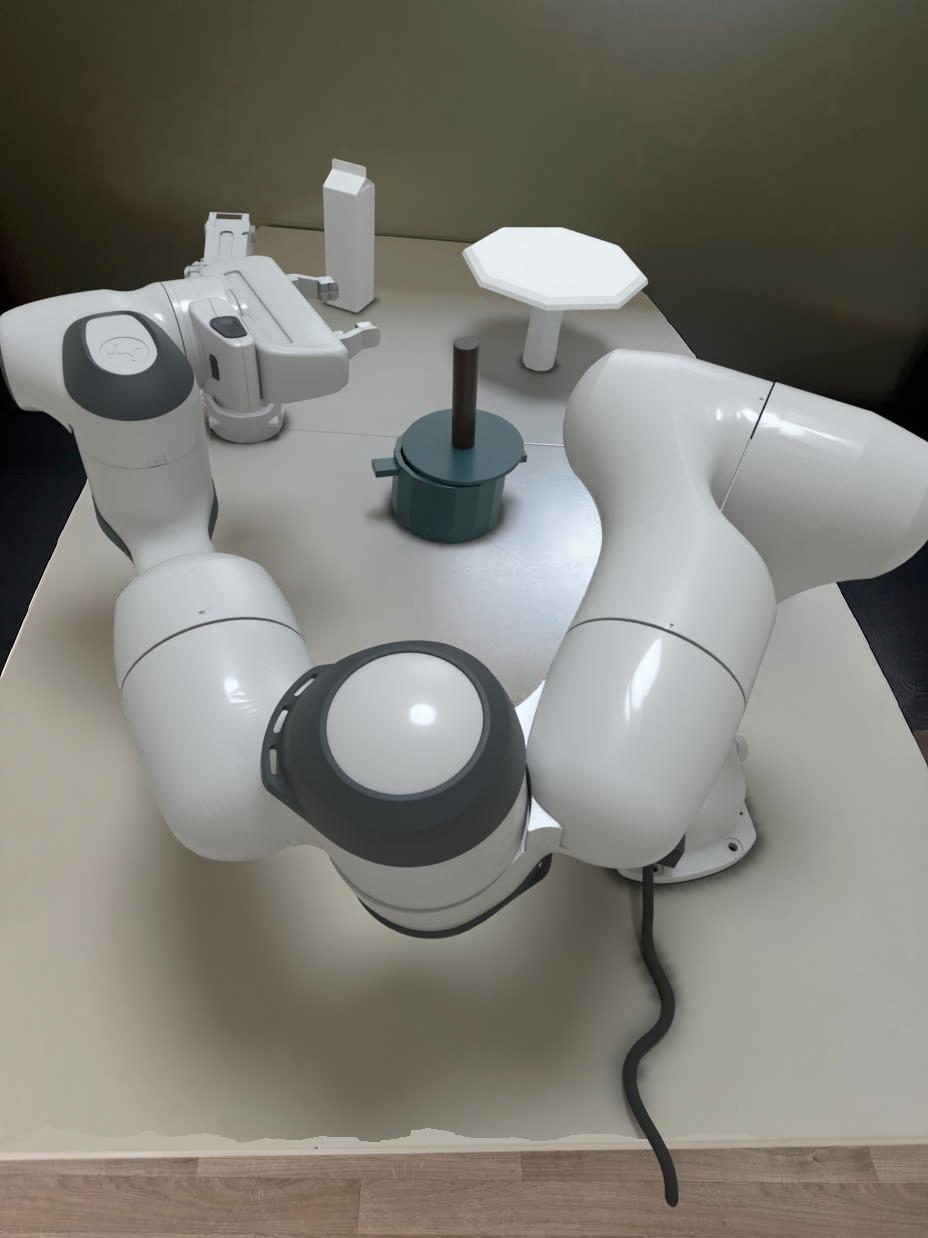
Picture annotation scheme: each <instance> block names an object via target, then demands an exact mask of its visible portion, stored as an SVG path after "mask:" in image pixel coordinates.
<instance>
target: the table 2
mask: <svg viewBox="0 0 928 1238" xmlns="http://www.w3.org/2000/svg"><path fill="white" fill-rule="evenodd" d="M461 255H462V257H463V259H464V261H465V263H466V265H467V266H468V268H469V270H470V272H471V273H472V275H473V278H474V280H475V281H476V282H477V285H478V287H480V288H482V289H486V290H489V291H491V292H493V293H497V294H499V295H502V296H504V297H505V296H506V297H507V298H510V299H513V300H516V301H519V302H521V303H524V304H527V305H530V311H529V323H528V328H527V332H526V338H525V344H524V350H523V356H522V362H523V364H524V366H525V367H526V368H528V369H529V370H530V369H531V370H532V371H535V372H545V371H549V370H551V369H552V368H553V367H554V365H555V360H556V355H557V349H558V343H559V336H560V330H561V325H562V322H563V318H564V314H565V311H583V310H587V311H591V310H620V309H621V308H622V307H623V306H625V305H626V304H627V303H628V302H629V301H630V300H631V299H633V298H634V297H635V296H636V295H637V294H638V293H640V292H641V290H643V289H644V288H645V287H646V286H647V285H648V284H649V281H648V280H649V279H648V278H647V277H646V275H645V274H644V273H643V272H642V271H641V270H640V268H639V267H638V266H637V265H636V264H635V262H633V260H632V259H631V258H630V257H629V256H628V255H627V253H626V252H625V251H624V250H623V249H622V248H621V246H619V245H617V244H614V243H612V242H608V241H605V240H602V239H599V238H596V237H594V236H593V237H592V236H590V235H587V234H584V233H580V232H577V231H574V230H571V229H568V228H565V227H531V226H530V227H527V226H526V227H524V226H523V227H520V226H519V227H513V226H511V227H510V226H508V227H501V228H499V229H498V230H497V229H496V230H495V231H493V232H491V233H490V234H488V235H487V236H485V237H483V238H482V239H480V240H478V241H476V242H474V243H473V244H471V245H469V246H468V247H466V248H464V249H463V251H462V252H461Z"/></svg>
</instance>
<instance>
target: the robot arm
mask: <svg viewBox="0 0 928 1238" xmlns="http://www.w3.org/2000/svg"><path fill="white" fill-rule="evenodd" d="M338 289H339V286H338V284H337V283H336V282H335V280H334V279H333V278H332V277H331V276H326V275H325V276H317V277H315V276H311V275H305V274H299V273H288V274H286V273H285V272H284V271H283V270H282V269H281V267H280V266H279V265H278V264H277V262H275V260H274V259H273V258H272V257H270V256H266V255H257V254H256V255H254V254H253V256H247V257H242V258H236V259H231V260H226V261H221V262H217V263H213V264H210V265H207V266H205V267H203V268H202V269H201V270H200V273H199V275H193V276H190V277H188V279H185V278H179V279H173V280H172V279H171V280H165V281H156V282H152V283H149V284H147V285H145V286H143V287H141V288H137V289H135V290H128V291H126V290H125V291H121V290H114V289H113V290H112V289H106V288H103V289H94V290H87V291H80V292H73V293H68V294H62V295H57V296H53V297H48V298H44V299H43V298H42V299H40V300H36V301H35V300H34V301H32V302H29V303H25V304H23V305H19V306H17V307H14V308H12V309H9V310H7V311H5V312H3V313H2V314H1V315H0V368H1V369H0V370H1V372H2V376H3V380H4V382H5V385H6V387H7V390H8V392H9V394H10V396H11V398H12V400H13V401H14V402H15V403H16V405H17V406H18V407H19V408H20V409H21V410H24V411H29V412H43V413H46V414H48V415H49V416H51V417H52V418H53V419H55V420H56V421H58V422H59V423H60V424H61V425H62V426H64V428H65V429H66V430H67V431H68V432H69V433H70V434H72V433H73V434H74V435H73V436H74V438H75V442H76V445H77V448H78V451H79V455H80V458H81V461H82V465H83V468H84V471H85V475H86V478H87V481H88V485H89V488H90V491H91V498H92V504H93V508H94V512H95V517H96V521H97V523H98V526H99V528H100V529H101V531H102V532H103V534H104V535H105V536H106V537H107V538H108V539H109V541H111V542H112V543H113V544H114V545H115V546H116V547H117V548H118V549H119V550H120V551H121V552H122V553H123V554H124V555H125V556H126V557H127V558H128V559H129V560H130V562H131V563H132V564H133V568H134V571H135V575H136V577H135V578H134V579H133V580H132V581H131V582H129V584H127V586H126V587H125V588H124V589H123V591H122V592H121V593H120V595H118V596H117V600H116V601H115V603H114V613H113V657H114V667H115V673H116V681H117V685H118V690H119V696H120V700H121V703H122V708H123V712H124V716H125V719H126V724H127V728H128V731H129V734H130V737H131V741H132V744H133V747H134V750H135V753H136V755H137V757H138V760H139V763H140V767H141V768H142V771H143V774H144V776H145V779H146V781H147V783H148V786H149V788H150V790H151V793H152V795H153V796H154V797H153V798H154V799H155V801H156V804H157V806H158V808H159V810H160V811H161V813H162V816H163V818H164V820H165V821H166V824H167V825H168V827H169V829H170V831H171V833H172V834H173V836H174V837H175V838H176V840H178V841H179V842H180V843H181V844H182V845H183V847H185V848H186V849H188V850H189V851H191V852H192V853H194V854H196V855H198V856H200V857H202V858H206V859H209V860H214V861H220V862H247V861H253V860H258V859H262V858H266V857H269V856H272V855H275V854H277V853H280V852H282V851H284V850H286V849H288V848H290V847H291V846H292V847H297V846H313V847H316V848H318V849H320V850H323V851H324V852H325V853H326V854H327V855H328V858H329V860H330V861H331V862H330V863H332V865H333V867H334V869H335V870H336V872H337V874H338V876H340V878H341V879H342V881H343V882H344V884H346V886H347V887H348V888H349V890H350V891H351V892H352V893H353V894H354V895H355V896H356V898H357V900H358V901H359V903H360V904H361V905H362V907H363V908H364V909H365V910H366V911H367V912H368V914H369V915H370V916H371V917H373V918H374V920H376V921H377V922H379V923H380V924H382V925H383V926H385V927H386V928H387V929H390V930H392V931H394V932H395V933H396V932H397V933H399V934H402V935H403V936H407V937H411V938H414V939H415V938H416V939H423V940H441V939H448V938H452V937H457V936H459V935H461V934H464V933H466V932H469V931H470V930H473V929H475V928H476V927H478V926H479V925H481V924H483V923H485V922H486V921H488V920H489V919H490V918H492V917H493V916H494V915H495V914H497V913H498V912H499V911H501V910H502V909H503V908H505V907H506V906H507V905H509V904H510V903H512V901H514V900H515V899H516V898H518V897H519V896H521V895H523V894H524V893H526V892H527V891H528V890H529V889H532V887H534V886H535V885H537V884H539V882H541V881H543V880H544V879H545V878H546V877H547V875H548V874H549V872H550V870H551V868H552V867H551V866H552V862H553V855H554V853H560V854H563V855H566V856H570V857H572V858H574V859H576V860H579V861H581V862H584V863H586V864H590V865H593V866H597V867H601V868H602V867H603V868H607V869H615V870H616V871H617V872H618V873H619V874H620V875H621V876H622V877H624V878H627V879H630V880H633V881H638V882H640V883H642V888H641V890H642V891H641V892H642V893H641V895H642V896H641V897H642V899H641V901H642V905H641V908H642V912H641V928H640V929H641V930H640V931H641V933H640V934H641V935H640V936H641V937H640V938H641V945H642V951H643V955H644V958H645V961H646V964H647V966H648V968H649V970H650V972H651V974H652V976H653V978H654V980H655V982H656V984H657V987H658V988H659V991H660V995H661V997H662V998H661V999H662V1008H661V1014H660V1016H659V1018H658V1020H657V1022H655V1024H654V1025H653V1026H652V1027H651V1028H650V1029H649V1030H648V1031H647V1032H646V1033H644V1034H642V1036H641V1037H640V1038H639V1039H638V1040H637V1041H636V1042H635V1043H634V1044H633V1045H632V1047H631V1048H630V1049H629V1051H628V1053H627V1055H626V1058H625V1059H624V1060H625V1061H624V1065H623V1086H624V1091H625V1096H626V1099H627V1102H628V1104H629V1107H630V1110H631V1112H632V1114H633V1116H634V1117H635V1120H636V1121H637V1124H638V1125H639V1127H640V1129H641V1130H642V1133H643V1134H644V1136H645V1137H646V1140H647V1141H648V1143H649V1145H650V1147H651V1148H652V1151H653V1153H654V1155H655V1157H656V1159H657V1161H658V1165H659V1167H660V1171H661V1173H662V1178H663V1186H664V1200H665V1202H666V1204H667V1205H668V1206H669V1207H670V1208H676V1207H677V1206H678V1204H679V1182H678V1176H677V1171H676V1168H675V1165H674V1161H673V1158H672V1156H671V1154H670V1151H669V1149H668V1147H667V1144H666V1143H665V1141H664V1139H663V1138H662V1136H661V1134H660V1132H659V1130H658V1129H657V1127H656V1125H655V1124H654V1121H653V1120H652V1118H651V1116H650V1115H649V1113H648V1111H647V1109H646V1107H645V1105H644V1102H643V1100H642V1097H641V1094H640V1091H639V1087H638V1081H637V1080H638V1078H637V1073H638V1065H639V1063H640V1061H641V1059H642V1057H643V1056H644V1055H645V1053H646V1052H648V1050H650V1048H651V1047H653V1046H654V1045H655V1044H656V1043H657V1042H658V1041H660V1039H661V1038H662V1037H664V1035H665V1034H666V1033H667V1032H668V1030H669V1029H670V1028H671V1026H672V1023H673V1022H674V1021H673V1020H674V1019H675V1013H676V1000H675V995H674V991H673V988H672V985H671V983H670V980H669V979H668V977H667V975H666V973H665V971H664V969H663V968H662V965H661V963H660V961H659V958H658V956H657V953H656V949H655V944H654V932H653V931H654V913H655V902H654V901H655V898H654V897H655V895H654V893H655V892H654V891H655V890H654V889H655V888H654V886H655V884H673V883H680V882H686V881H691V880H696V879H700V878H703V877H706V876H709V875H712V874H716V873H719V872H721V871H723V870H725V869H727V868H729V867H731V866H733V865H735V864H736V863H738V862H739V861H740V860H741V859H743V858H744V857H746V855H747V854H748V852H749V851H750V850H751V848H752V847H753V845H754V843H755V841H756V838H757V831H756V829H755V826H754V823H753V821H752V818H751V816H750V812H749V810H748V808H747V805H746V802H745V798H746V794H747V785H746V781H745V776H744V773H743V769H742V764H741V762H743V761H745V760H746V759H747V758H748V754H749V747H748V743H747V741H746V739H745V738H744V737H743V736H740V735H737V733H738V731H739V728H740V725H741V723H742V720H743V717H744V715H745V712H746V709H747V706H748V703H749V700H750V697H751V694H752V692H753V688H754V685H755V682H756V680H757V677H758V673H759V671H760V668H761V666H762V662H763V659H764V657H765V653H766V650H767V647H768V645H769V641H770V639H771V636H772V633H773V630H774V627H775V624H776V620H777V616H778V615H777V613H778V608H777V605H778V604H780V603H781V602H783V601H785V600H787V599H789V598H791V597H794V596H795V595H797V594H800V593H803V592H806V591H808V590H811V589H814V588H817V587H821V586H825V585H829V584H834V583H840V582H846V581H855V580H868V579H874V578H876V577H879V576H883V575H885V574H887V573H889V572H891V571H893V570H895V569H896V568H898V567H900V566H901V565H902V564H904V563H906V562H907V561H908V560H910V559H911V558H912V557H913V556H915V554H916V553H917V552H918V551H920V550H921V548H922V547H924V546H925V544H926V543H927V541H928V441H927V440H925V439H924V438H921V437H919V436H918V435H916V434H914V433H913V432H911V431H909V430H907V429H905V428H904V427H902V426H900V425H898V424H896V423H894V422H893V421H891V420H889V419H887V418H885V417H883V416H882V415H879V414H878V413H875V412H874V411H872V410H867V409H864V408H861V407H858V406H855V405H851V404H848V403H845V402H842V401H838V400H836V399H831V398H829V397H826V396H822V395H819V394H816V393H813V392H809V391H806V390H803V389H800V388H796V387H793V386H791V385H787V384H783V383H781V382H778V381H776V382H773V381H770V380H767V379H765V378H760V377H757V376H755V375H751V374H748V373H744V372H741V371H739V370H735V369H732V368H728V367H724V366H722V365H719V364H715V363H712V362H708V361H706V360H702V359H699V358H695V357H692V356H689V355H687V354H682V353H673V352H665V351H664V352H663V351H657V350H648V349H647V350H646V349H645V350H644V349H634V348H621V347H620V348H619V347H618V348H616V349H613V350H612V351H610V352H609V353H607V354H605V355H604V356H602V357H600V358H599V359H598V360H597V361H595V362H594V363H593V364H592V365H591V366H590V367H589V368H588V369H587V370H586V371H585V372H584V373H583V374H582V375H581V377H580V379H579V380H578V381H577V383H576V385H575V386H574V388H573V390H572V392H571V394H570V396H569V398H568V401H567V404H566V407H565V410H564V416H563V421H562V441H563V447H564V453H565V456H566V459H567V462H568V464H569V467H570V469H571V471H572V473H573V474H574V475H575V477H577V479H578V480H579V481H580V482H581V483H582V485H583V486H584V487H585V489H586V490H587V492H588V493H589V495H590V497H591V499H592V501H593V503H594V505H595V508H596V510H597V513H598V517H599V521H600V528H601V543H600V550H599V555H598V558H597V562H596V564H595V566H594V569H593V572H592V574H591V577H590V580H589V583H588V585H587V588H586V589H585V592H584V594H583V596H582V599H581V600H580V603H579V606H578V608H577V610H576V611H575V614H574V616H573V618H572V620H571V622H570V624H569V626H568V627H567V630H566V632H565V634H564V636H563V638H562V639H561V642H560V644H559V646H558V649H557V650H556V652H555V655H554V657H553V659H552V661H551V664H550V666H549V668H548V670H547V672H546V676H545V677H544V678H543V679H542V680H541V681H540V682H539V684H538V685H537V686H536V688H535V689H534V691H533V692H532V693H531V694H530V695H529V696H528V697H527V698H525V699H524V700H523V701H521V702H520V703H519V704H518V705H516V706H514V704H513V703H512V699H511V698H510V696H509V694H508V693H507V692H506V690H505V688H504V687H503V685H502V683H501V682H500V680H499V679H498V678H497V677H496V675H495V674H494V673H493V672H492V671H491V670H490V669H489V668H488V667H487V666H486V665H485V664H484V663H483V662H481V660H480V659H478V658H476V657H475V656H474V655H473V654H471V653H469V652H468V651H465V650H464V649H462V648H459V647H456V646H454V645H451V644H448V643H445V642H439V641H433V640H422V639H414V640H412V639H411V640H409V639H408V640H401V641H400V640H399V641H391V642H386V643H382V644H378V645H375V646H371V647H368V648H364V649H362V650H359V651H357V652H353V653H352V654H351V653H350V655H349V654H348V655H346V656H345V657H343V658H341V659H338V661H336V662H333V663H327V664H325V663H324V664H320V665H316V666H315V663H314V660H313V658H312V655H311V652H310V649H309V647H308V644H307V642H306V640H305V637H304V634H303V632H302V630H301V629H302V628H301V627H300V625H299V623H298V620H297V618H296V616H295V614H294V612H293V610H292V607H291V606H290V604H289V602H288V600H287V599H286V597H285V596H284V594H283V592H282V591H281V589H280V588H279V587H278V585H277V584H276V582H275V581H274V579H273V578H272V577H271V575H270V574H269V573H268V571H267V570H266V569H265V568H264V567H263V566H262V565H261V564H259V563H257V562H256V561H253V560H251V559H248V558H246V557H243V556H240V555H236V554H232V553H227V552H219V551H215V549H214V547H213V544H212V540H213V539H212V538H213V535H214V531H215V527H216V524H217V520H218V515H219V499H218V495H217V490H216V485H215V482H214V478H213V475H212V468H211V462H210V461H211V460H210V453H209V448H208V439H207V434H206V426H205V419H204V418H205V417H204V411H203V403H202V398H201V391H200V389H201V390H202V392H203V391H204V392H205V393H207V394H209V395H212V396H214V397H215V398H217V399H219V400H220V401H222V402H223V403H225V404H226V405H228V406H229V407H230V408H232V409H233V410H235V411H236V412H238V413H243V414H244V413H251V412H255V411H258V410H260V408H261V399H262V400H264V401H266V402H268V403H273V404H284V405H285V404H291V403H297V402H298V403H299V402H303V401H308V400H314V399H318V398H321V397H326V396H330V395H333V394H336V393H339V392H340V391H342V390H343V389H344V388H345V387H346V386H347V384H348V383H349V380H350V376H349V375H350V360H351V359H352V358H354V357H355V356H356V355H357V354H359V353H360V352H361V351H363V350H366V349H371V348H372V349H373V348H376V347H378V346H379V345H380V343H381V331H380V329H379V328H378V327H377V325H376V324H375V323H374V322H373V321H371V320H366V321H365V322H364V321H360V322H355V323H354V329H352V330H349V331H347V332H346V333H345V332H344V331H343V330H337V331H336V330H335V331H333V330H332V329H331V327H330V326H329V325H328V324H327V323H326V322H325V320H324V319H323V318H322V317H321V316H320V314H319V313H318V312H317V311H316V310H315V309H314V307H313V306H312V305H311V304H310V303H309V301H308V300H307V299H309V300H319V301H320V302H321V303H327V301H330V300H331V301H334V300H336V299H338V297H339V292H338ZM773 385H774V386H773ZM720 510H722V511H720ZM730 848H732V849H733V850H734V851H733V850H732V849H730ZM654 869H655V871H654Z"/></svg>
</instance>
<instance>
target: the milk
mask: <svg viewBox="0 0 928 1238" xmlns="http://www.w3.org/2000/svg"><path fill="white" fill-rule="evenodd" d="M375 197H376V184H375V183H374V182H373V181H371V180H370V179H369V178H368V177H367V168H366V166H363V165H360V164H356V163H352V162H349V161H344V160H341V159H337V158H332V160H331V170H330V171H329V173H328V176H327V178H326V179H325V181H324V183H323V185H322V199H323V200H322V202H323V203H322V204H323V229H324V230H323V231H324V232H323V233H324V262H325V264H324V265H325V276H331V277H332V278H333V279H334V280H335V282H336V283H337V284H338V286H339V289H338V292H339V297H338V299H336V300H334V301H331V300H330V301H327V302H326V305H330V306H332V307H336V308H339V309H343V310H346V311H349V312H352V313H354V314H355V313H356V314H357V313H359V312H360V311H362V310H363V309H364V308H365V307H366V306H369V304H371V302H373V301H374V297H375V296H374V295H375V294H374V291H375V289H374V287H375V284H374V283H375V213H376V212H375V209H376V208H375V206H376V205H375V204H376V203H375V201H376V199H375Z"/></svg>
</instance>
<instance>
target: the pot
mask: <svg viewBox="0 0 928 1238" xmlns="http://www.w3.org/2000/svg"><path fill="white" fill-rule="evenodd" d="M405 432H406V430H405V431H404V432H403V433H402V434H400V435H399V437H397V438H396V441H395V445H394V449H393V456H391V457H381V458H372V459H371V468H372V471H373V474H374V477H375V478H376V479H378V478H387V477H392V486H391V505H392V510H393V514H394V516H395V519H396V521H397V522H398V523H399V525H401V526H402V527H403V528H404V529H405V530H406V531H408V532H409V533H411V534H413V535H414V536H416V537H418V538H421V539H423V540H427V541H430V542H434V543H441V544H460V543H461V544H462V543H467V542H470V541H471V542H472V541H474V540H478V539H479V538H482V537H484V536H485V535H486V534H488V533H489V532H490V531H492V529H493V528H494V527H495V526H496V524H497V523H498V520H499V517H500V510H501V505H502V499H503V494H504V493H503V492H504V486H505V480H506V476H504V477H502V478H500V479H498V480H495V481H492V482H489V483H485V484H479V485H468V486H464V485H451V484H445V483H441V482H437V481H434V480H432V479H429V478H427V477H425V476H423V475H421V474H420V473H418V472H417V471H415V470H414V469H413V468H412V467H411V466H410V465H409V464H408V462H407V461H406V459H405V457H404V454H403V450H402V440H403V436H404V434H405ZM527 460H528V454H527V452H526V451H525V450H524V452H523V457H522V459H521V461H520V463H519V464H524V463H527Z"/></svg>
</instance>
